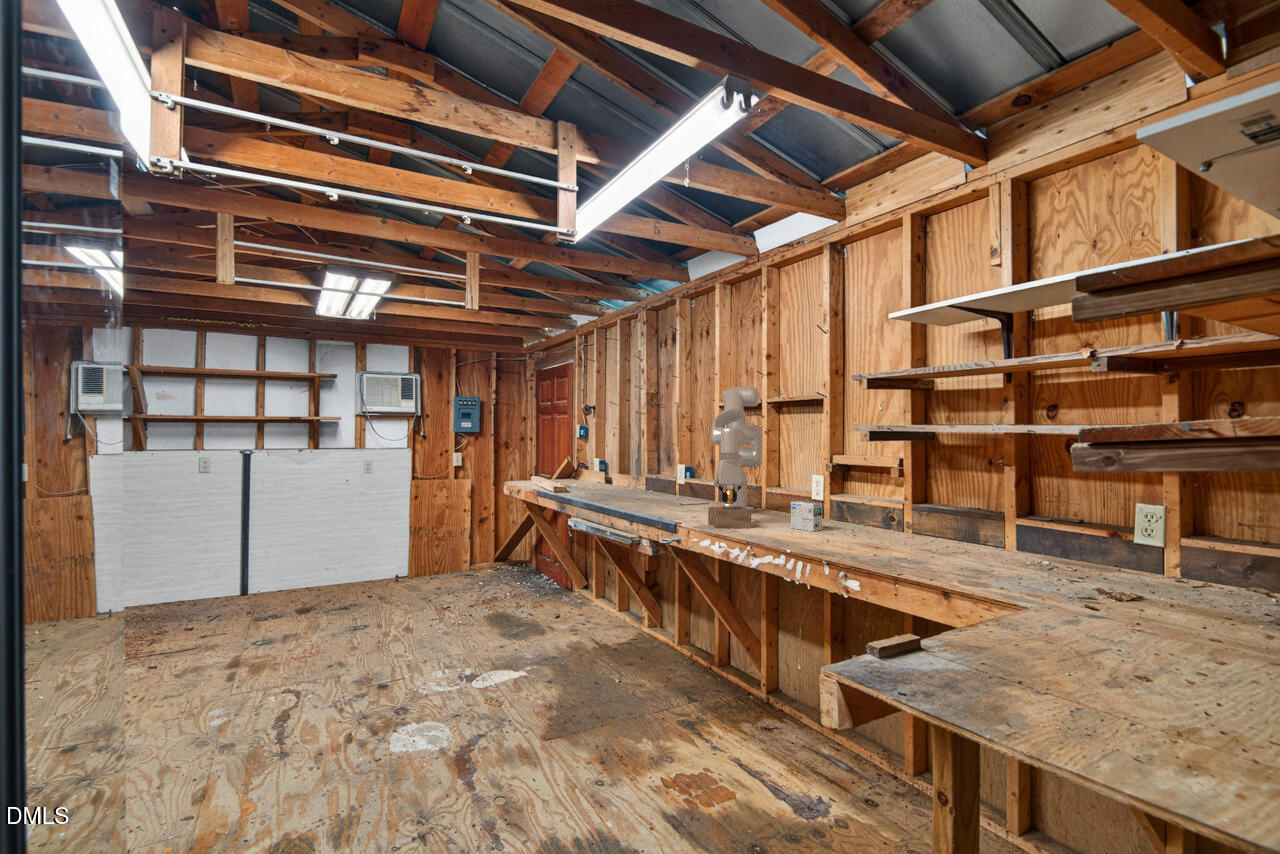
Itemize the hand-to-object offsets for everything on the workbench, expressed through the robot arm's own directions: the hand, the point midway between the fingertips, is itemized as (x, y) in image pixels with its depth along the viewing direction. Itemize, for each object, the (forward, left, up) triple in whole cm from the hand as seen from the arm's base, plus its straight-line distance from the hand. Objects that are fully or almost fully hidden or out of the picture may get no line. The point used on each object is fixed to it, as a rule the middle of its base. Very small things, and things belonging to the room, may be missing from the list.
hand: (729, 501), depth 244 cm
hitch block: (0, 0, -10) cm, 10 cm away
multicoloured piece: (0, 0, -8) cm, 8 cm away
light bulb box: (+12, +28, -10) cm, 32 cm away
